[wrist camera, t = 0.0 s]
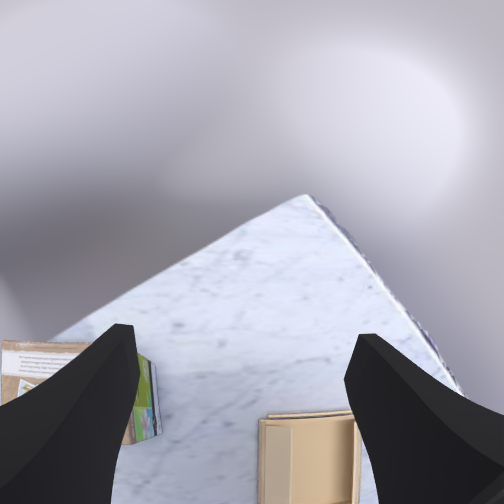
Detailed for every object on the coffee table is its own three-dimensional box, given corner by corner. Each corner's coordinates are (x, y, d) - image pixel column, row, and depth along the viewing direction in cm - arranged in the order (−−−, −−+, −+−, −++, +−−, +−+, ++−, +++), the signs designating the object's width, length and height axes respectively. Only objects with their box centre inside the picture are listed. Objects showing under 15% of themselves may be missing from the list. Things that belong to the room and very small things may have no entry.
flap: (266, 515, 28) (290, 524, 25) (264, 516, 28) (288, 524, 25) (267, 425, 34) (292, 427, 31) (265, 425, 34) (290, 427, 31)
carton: (352, 506, 31) (360, 511, 29) (257, 517, 30) (259, 523, 28) (354, 409, 38) (362, 409, 36) (258, 414, 37) (261, 415, 35)
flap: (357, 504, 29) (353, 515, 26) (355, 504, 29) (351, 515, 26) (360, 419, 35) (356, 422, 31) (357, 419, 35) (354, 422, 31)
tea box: (156, 361, 39) (126, 339, 26) (163, 434, 35) (134, 450, 21) (58, 361, 37) (-1, 337, 24) (61, 429, 32) (0, 432, 19)
